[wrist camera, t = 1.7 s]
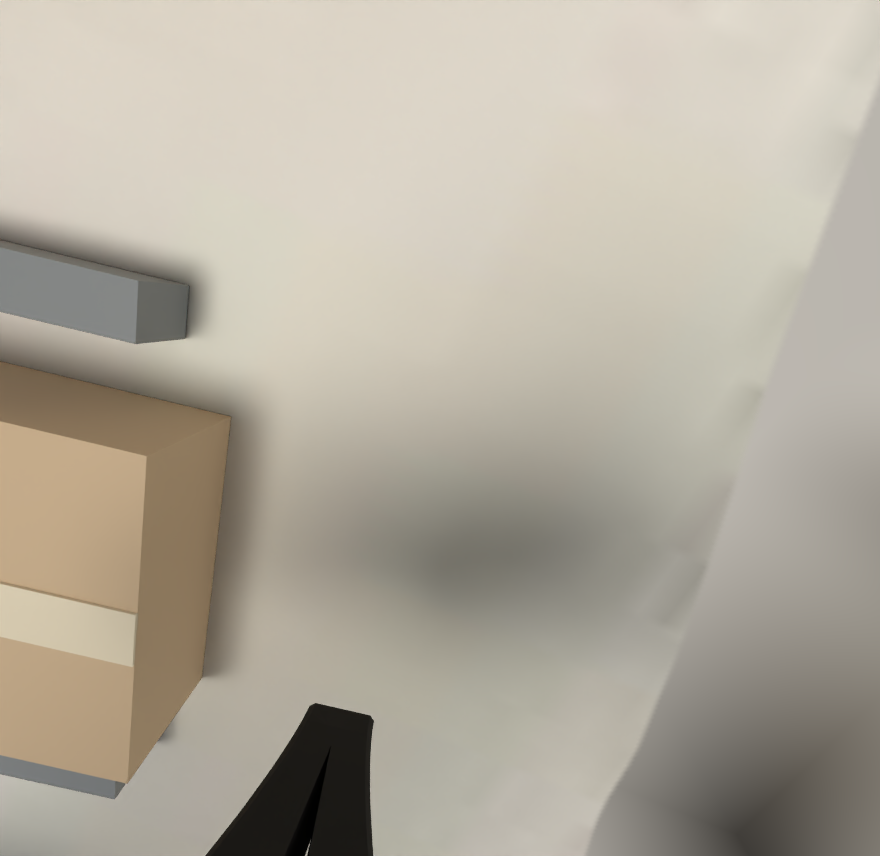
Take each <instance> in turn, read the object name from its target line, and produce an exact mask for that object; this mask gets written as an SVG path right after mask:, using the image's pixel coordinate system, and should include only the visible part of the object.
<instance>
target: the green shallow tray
mask: <svg viewBox="0 0 880 856" xmlns="http://www.w3.org/2000/svg"><path fill="white" fill-rule="evenodd" d="M188 295H189V285H185V284H181V283H177V282H173V281H169V280H165V279H160V278H156V277H152V276H148V275H144V274H140V273H136V272H131V271H127V270H123V269H119V268H115V267H111V266H107V265H102V264H98V263H94V262H90V261H86V260H82V259H78V258H73V257H69V256H65V255H61V254H57V253H53V252H48V251H44V250H40V249H36V248H32V247H28V246H24V245H19V244H15V243H11V242H7V241H3V240H0V312H3V313H8V314H12V315H16V316H20V317H24V318H29V319H33V320H37V321H41V322H45V323H50V324H54V325H58V326H62V327H66V328H71V329H75V330H79V331H83V332H87V333H92V334H96V335H100V336H104V337H108V338H113V339H117V340H121V341H125V342H129V343H134V344H140V343H149V342H159V341H169V340H178V339H185V334H186V321H187V308H188ZM0 774H2V775H7V776H11V777H16V778H20V779H25V780H30V781H34V782H39V783H43V784H48V785H52V786H57V787H61V788H66V789H70V790H75V791H80V792H84V793H89V794H93V795H98V796H102V797H107V798H111V799H115V798H116V797H117V795H118V794H119V792H120V791H121V790H122V788H123V787H124V785H125V784H126V783H122V782H117V781H113V780H109V779H104V778H100V777H95V776H91V775H86V774H82V773H78V772H73V771H69V770H64V769H60V768H55V767H51V766H46V765H42V764H38V763H33V762H29V761H24V760H20V759H15V758H11V757H7V756H2V755H0Z"/></svg>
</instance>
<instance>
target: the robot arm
mask: <svg viewBox="0 0 880 856" xmlns="http://www.w3.org/2000/svg"><path fill="white" fill-rule="evenodd" d="M373 723H374V720H373V719H372V718H371V716H370V715H365V714H361V713H356V712H352V711H348V710H343V709H339V708H335V707H330V706H326V705H321V704H317V703H315V704H313V705H311V706H310V707H309V708H308V710H307V712H306V714H305V716H304V718H303V720H302V722H301V723H300V725H299V727H298V728H297V730H296V732H295V733H294V735H293V737H292V738H291V740H290V742H289V743H288V745H287V746H286V748H285V749H284V751H283V752H282V754H281V755H280V757H279V758H278V760H277V761H276V763H275V764H274V766H273V767H272V769H271V770H270V771H269V773H268V774H267V776H266V777H265V778H264V780H263V781H262V783H261V784H260V785H259V787H258V788H257V789H256V791H255V792H254V794H253V795H252V796H251V798H250V799H249V801H248V802H247V803H246V805H245V806H244V807H243V809H242V810H241V811H240V813H239V814H238V815H237V817H236V818H235V819H234V820H233V822H232V823H231V824H230V825H229V827H228V828H227V829H226V830H225V832H224V833H223V834H222V835H221V837H220V838H219V839H218V841H217V842H216V843H215V844H214V846H213V847H212V848H211V849H210V851H209V852H208V853H207V854H206V856H305V854H306V851H307V848H308V845H309V843H310V846H309V850H308V855H307V856H373V847H372V828H371V810H370V751H371V738H372V729H373ZM310 840H311V841H310Z"/></svg>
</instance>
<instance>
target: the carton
mask: <svg viewBox="0 0 880 856" xmlns="http://www.w3.org/2000/svg"><path fill="white" fill-rule="evenodd" d="M230 423H231V417H230V416H226V415H222V414H218V413H214V412H210V411H205V410H201V409H197V408H193V407H189V406H185V405H180V404H176V403H172V402H168V401H164V400H160V399H155V398H151V397H147V396H143V395H139V394H135V393H130V392H126V391H122V390H118V389H114V388H110V387H105V386H101V385H97V384H93V383H89V382H85V381H80V380H76V379H72V378H68V377H64V376H60V375H55V374H51V373H47V372H43V371H39V370H35V369H30V368H26V367H22V366H18V365H14V364H10V363H6V362H1V361H0V755H2V756H7V757H11V758H15V759H20V760H24V761H29V762H33V763H38V764H42V765H46V766H51V767H55V768H60V769H64V770H69V771H73V772H78V773H82V774H86V775H91V776H95V777H100V778H104V779H109V780H113V781H117V782H122V783H126V784H128V782H129V781H130V779H131V778H132V776H133V775H134V774H135V772H136V771H137V769H138V768H139V766H140V765H141V764H142V762H143V761H144V759H145V758H146V757H147V755H148V754H149V752H150V751H151V749H152V748H153V747H154V745H155V744H156V742H157V741H158V739H159V738H160V737H161V735H162V734H163V732H164V731H165V730H166V728H167V727H168V725H169V724H170V722H171V721H172V720H173V718H174V717H175V715H176V714H177V712H178V711H179V710H180V708H181V707H182V705H183V704H184V703H185V701H186V700H187V698H188V697H189V695H190V694H191V693H192V691H193V690H194V688H195V687H196V685H197V684H198V683H199V681H200V680H201V678H202V672H203V663H204V654H205V645H206V636H207V627H208V618H209V610H210V601H211V592H212V583H213V574H214V565H215V556H216V547H217V539H218V530H219V521H220V512H221V503H222V494H223V485H224V477H225V468H226V459H227V450H228V441H229V432H230Z"/></svg>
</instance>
